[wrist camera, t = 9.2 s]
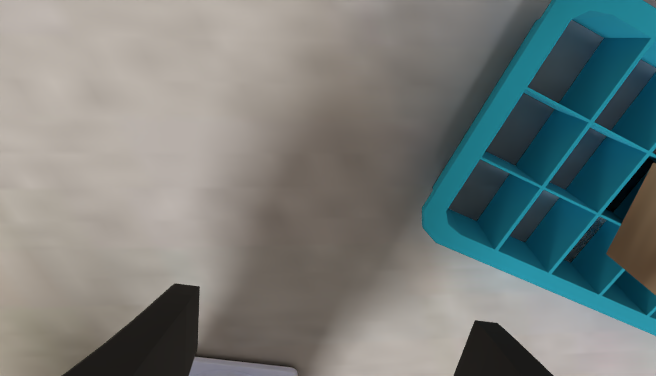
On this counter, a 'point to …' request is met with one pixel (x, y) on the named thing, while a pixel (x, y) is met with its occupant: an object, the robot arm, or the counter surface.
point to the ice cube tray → (548, 156)
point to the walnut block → (639, 235)
